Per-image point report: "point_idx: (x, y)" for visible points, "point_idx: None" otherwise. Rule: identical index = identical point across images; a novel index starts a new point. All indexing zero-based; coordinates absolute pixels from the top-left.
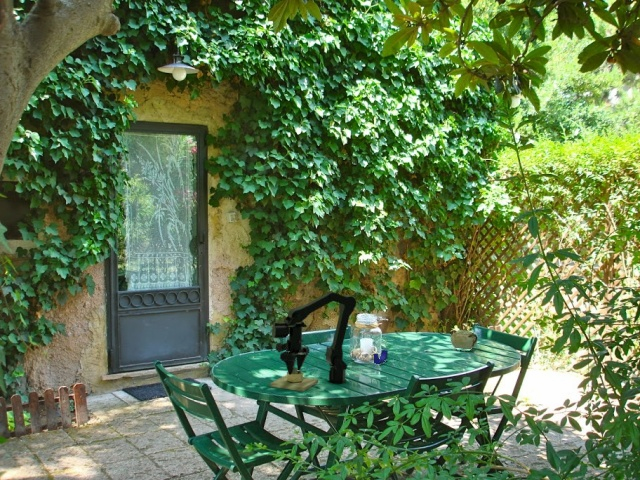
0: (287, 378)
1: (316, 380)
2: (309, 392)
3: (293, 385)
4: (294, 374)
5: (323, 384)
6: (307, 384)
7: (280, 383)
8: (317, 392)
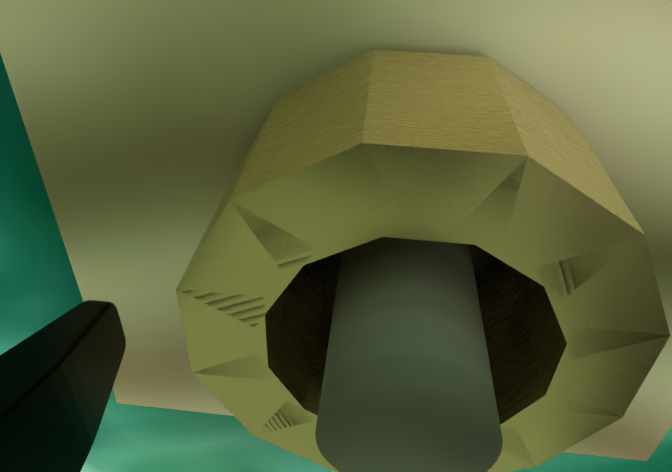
0: (256, 138)
1: (577, 450)
2: (138, 416)
3: (118, 276)
4: (210, 382)
5: (547, 466)
6: None
7: (64, 4)
8: (191, 466)
